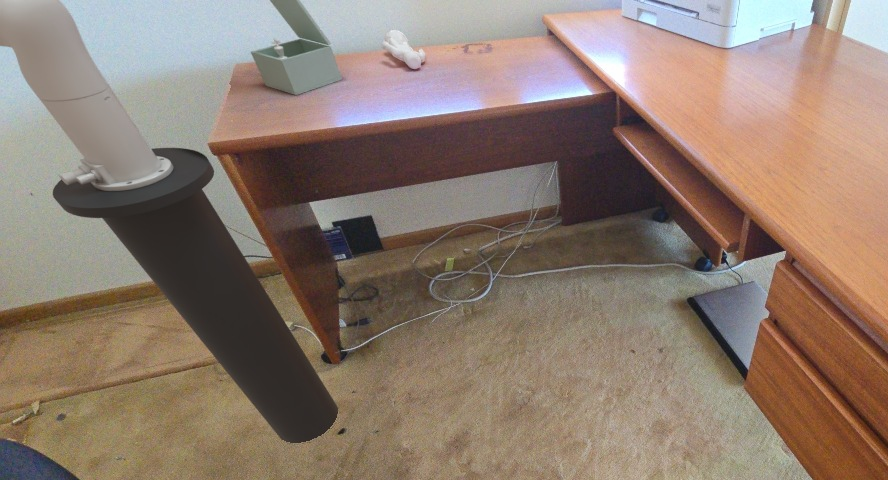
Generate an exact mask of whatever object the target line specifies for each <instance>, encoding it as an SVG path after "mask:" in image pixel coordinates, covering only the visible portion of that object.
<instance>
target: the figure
mask: <svg viewBox="0 0 888 480" xmlns="http://www.w3.org/2000/svg"><path fill="white" fill-rule="evenodd" d="M381 48H382V50H384V51H386V52H388V53H390V54H391V56H393V57H394V58H396V59H398V60H400V61H401V62H404V63H405V64H406V65H407V66H408V68H410V69H412V70H417V69H420V67H421V64H422V63H425V62H426V52H425V50H423V49H422V48H418V51H416V50H414V49H413V48H412V47H411V46H410V43H409V40H408V38H407V36H406V35H405V33H403V32H401V31H399V30H398V29H391V30H389V31H387V32H386V34H385V36H384V40H383V41H382V43H381Z"/></svg>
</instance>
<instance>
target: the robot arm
mask: <svg viewBox="0 0 888 480" xmlns="http://www.w3.org/2000/svg"><path fill="white" fill-rule="evenodd" d="M0 47H5V48H11V49H12V50H13V53H14V54H15V57H16V60H17V63H18V66H19V70H20V72H21V74H22V76H23V79H24V80H25V82H26V83H27V85H28V87H29V88H30V89H31V91H32V92H33V93H34V94H35V95H36V97H37V98H38V99H39V101H40V102H41V104H43V106H44V107H45V108H46V110H47V111H48V112H49V114H50V115H51V116H52V117H53V119H54V120H55V121H56V123H57V124H58V125H59V127H60V128H61V129H62V131H63V132H64V134H65V135H66V136H67V137H68V138H69V140H70V141H71V142H72V144H73V145H74V146H75V148H76V149H77V150H78V152H79V153H80V154H81V155H82V156H83V158H80V159H79V162H81V165H78V166H77V168H76V169H74V170H69V171H66V172H64V173H60V174H58V177H59V178H60V180H61V179H62V181H63V182H64V183H66V184H67V185H70V184H73V183H75V182H79V183H80V184H82V185H83V184H85V183H88V182H91V183H92V185H93V186H94V187H95V188H97V189H99V190H104V191H126V190H132V189H137V188H141V187H145V186H148V185H151V184H154V183H156V182H158V181H160V180H162V179H164V178H166V177H167V176H168V175H170V174H171V172H172V171H173V168H174V167H173V165H172V163H171V162H170V160H168V159H167V158H164V157H160V156H156V155H155V154H154V152H153V151H152V149H153V148H151V146H150V145H149V143H148V142H147V140H146V139H145V137H144V135H143V134H142V133H141V131H140V130H139V128H138V126H137V125H136V123H135V122H134V121H133V119H132V118H131V116H130V115H129V113H128V111H127V110H126V108H125V107H124V105H123V104H122V103H121V100H119V99H120V98H118V96H117V95H116V93H115V92H114V89H112V87H111V85H110V84H109V82H108V81H107V79H106V77H105V76H103V74H102V72H101V70H100V69H99V67H98V65H97V64H96V63H95V61H94V59H93V57H92V55H91V54H90V52H89V50H88V49H87V47H86V44H85V42H84V40H83V37H82V35H81V33H80V31H79V28H78V26H77V23H76V21H75V19H74V17H73V15H72V13H71V12H70V11H69V9H68V8H67V7H66V5H64V4H63V2H62V1H61V0H0Z"/></svg>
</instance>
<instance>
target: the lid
mask: <svg viewBox="0 0 888 480" xmlns="http://www.w3.org/2000/svg"><path fill="white" fill-rule="evenodd" d="M269 2H270V3H271V4H272V5H273V6H274V8H275V9H276V10H277V12H278V13H279V14H280V16H281V17H282V18H283V20H284V21H285V22H286V24H288V26H289V27H290V28H291V30H292V31H293V32H294V33H295V35H296V36H297V38H298V39H303V40H307V41H311V42H315V43H319V44H322V45H326V46H330V45H332V43H331V41H330V39H329V38H328V37H327V36H326V35H325V33H324V32H323V30H322V29H321V28H320V26H319V25H318V23H317V22H316V21H315V19H314V17H312V15H311V14H310V13H309V11H308V9H307V8H306V7H305V5H304V4H303V2H302V1H301V0H269Z"/></svg>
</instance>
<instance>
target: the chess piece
mask: <svg viewBox="0 0 888 480" xmlns="http://www.w3.org/2000/svg"><path fill="white" fill-rule="evenodd" d="M271 44H272V45H276V46H275V47H274V50H275V51H276V52H277V53H278V55H279V57H278V58H280V59H285V58H287V57H286V56H284V49H283V47H282V46H279V45H278V44H281V41H280V40H277V38H276V37H273V41H271Z"/></svg>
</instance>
